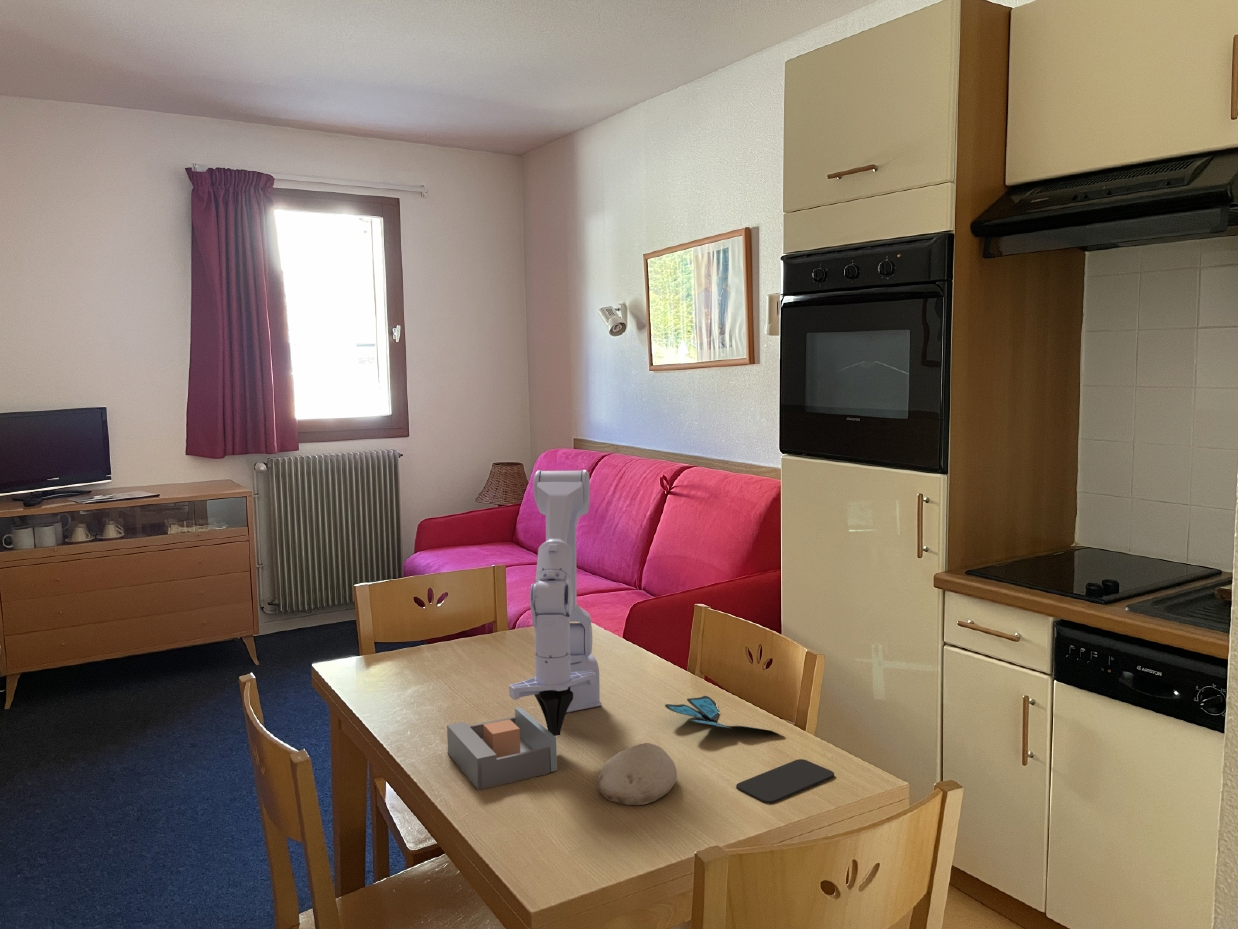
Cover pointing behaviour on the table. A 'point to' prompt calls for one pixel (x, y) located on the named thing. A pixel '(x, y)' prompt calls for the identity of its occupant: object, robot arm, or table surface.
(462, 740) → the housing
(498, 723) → the block
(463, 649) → the table surface
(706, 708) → the decorative butterfly
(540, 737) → the tray
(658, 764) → the stone
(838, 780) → the table surface
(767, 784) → the phone
